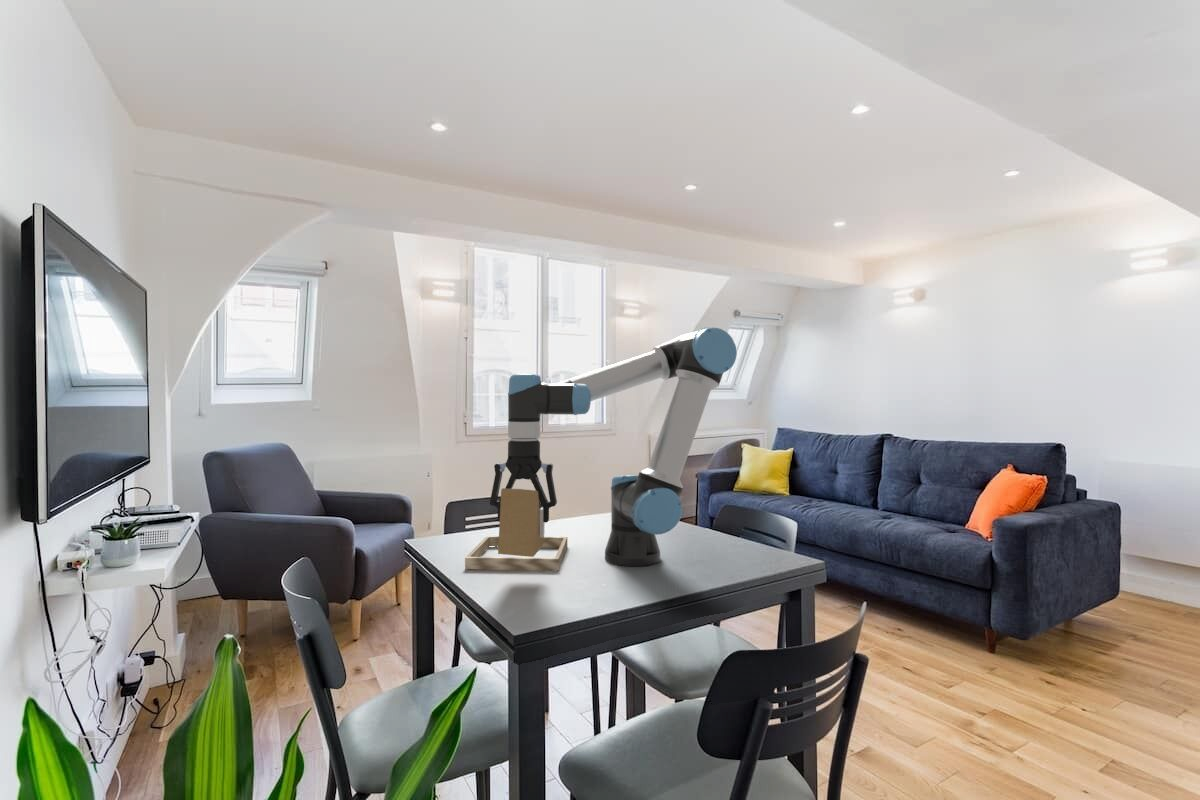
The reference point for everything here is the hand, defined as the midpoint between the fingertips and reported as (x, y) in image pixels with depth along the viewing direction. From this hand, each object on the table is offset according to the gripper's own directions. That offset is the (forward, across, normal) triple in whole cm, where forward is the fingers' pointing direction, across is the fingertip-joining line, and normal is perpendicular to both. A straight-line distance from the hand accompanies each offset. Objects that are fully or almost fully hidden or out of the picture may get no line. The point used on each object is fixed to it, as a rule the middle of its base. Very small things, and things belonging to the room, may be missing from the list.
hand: (523, 535), depth 140 cm
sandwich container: (+3, 0, -1) cm, 4 cm away
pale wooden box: (+11, +5, -23) cm, 26 cm away
